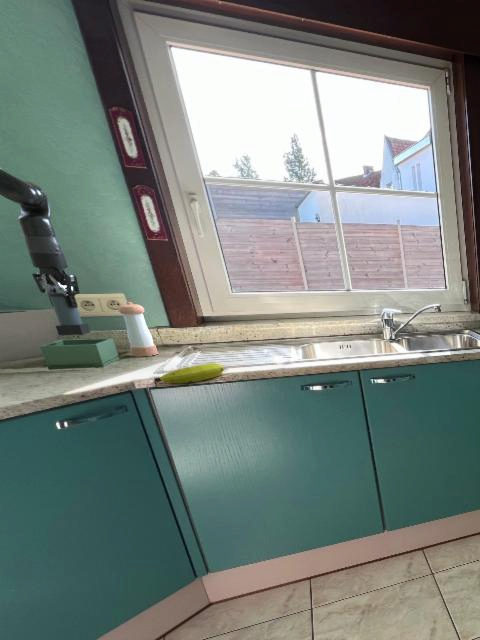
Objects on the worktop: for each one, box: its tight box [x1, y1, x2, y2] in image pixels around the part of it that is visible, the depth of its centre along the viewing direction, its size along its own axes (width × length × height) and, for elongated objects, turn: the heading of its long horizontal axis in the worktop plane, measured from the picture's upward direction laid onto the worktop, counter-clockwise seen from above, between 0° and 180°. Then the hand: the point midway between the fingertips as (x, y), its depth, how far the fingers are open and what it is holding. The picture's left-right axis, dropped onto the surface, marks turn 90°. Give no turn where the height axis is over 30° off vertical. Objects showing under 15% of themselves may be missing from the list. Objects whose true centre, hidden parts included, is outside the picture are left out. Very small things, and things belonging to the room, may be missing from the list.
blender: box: [47, 291, 91, 336], centre depth 160 cm, size 6×6×13 cm
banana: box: [153, 362, 226, 384], centre depth 154 cm, size 5×17×15 cm
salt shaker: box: [118, 301, 159, 358], centre depth 179 cm, size 7×7×19 cm
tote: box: [39, 337, 121, 371], centre depth 165 cm, size 14×14×8 cm
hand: (65, 307), depth 159 cm, fingers closed on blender, 5 cm apart
